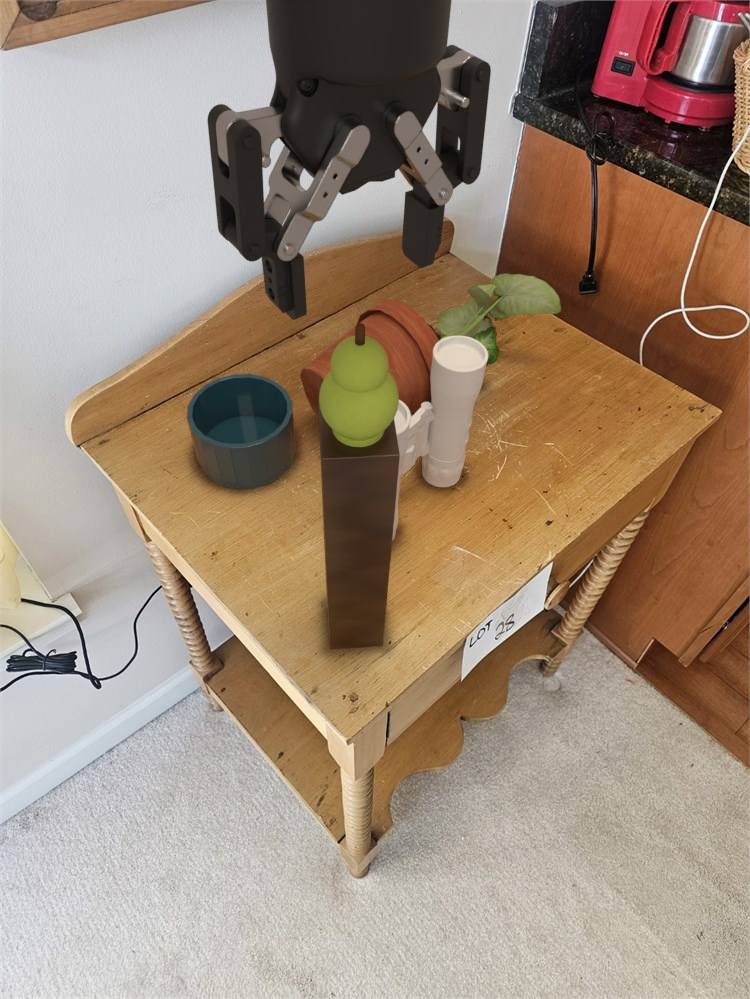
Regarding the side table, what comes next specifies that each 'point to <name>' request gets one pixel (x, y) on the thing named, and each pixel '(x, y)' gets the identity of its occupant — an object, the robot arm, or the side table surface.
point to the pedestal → (357, 534)
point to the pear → (359, 391)
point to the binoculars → (442, 414)
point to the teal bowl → (242, 430)
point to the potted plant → (415, 338)
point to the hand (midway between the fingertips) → (356, 284)
